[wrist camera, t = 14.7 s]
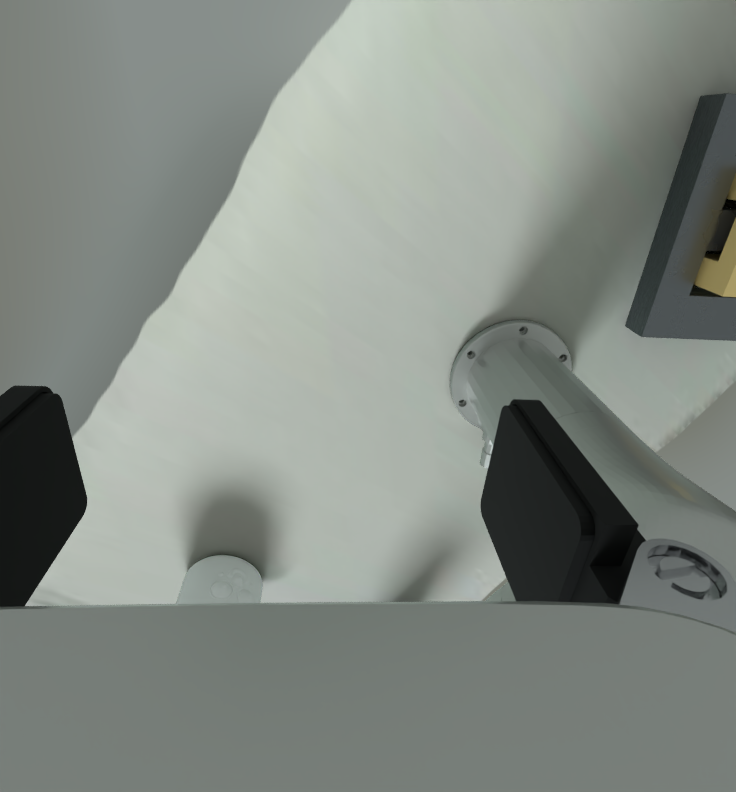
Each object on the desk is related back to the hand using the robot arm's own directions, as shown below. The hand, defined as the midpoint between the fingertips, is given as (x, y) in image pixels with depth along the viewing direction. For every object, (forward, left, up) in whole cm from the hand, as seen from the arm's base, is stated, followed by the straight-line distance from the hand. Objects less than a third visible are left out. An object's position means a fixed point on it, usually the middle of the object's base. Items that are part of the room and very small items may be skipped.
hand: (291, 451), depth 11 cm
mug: (-45, +10, -37) cm, 59 cm away
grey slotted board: (+1, -37, -36) cm, 52 cm away
